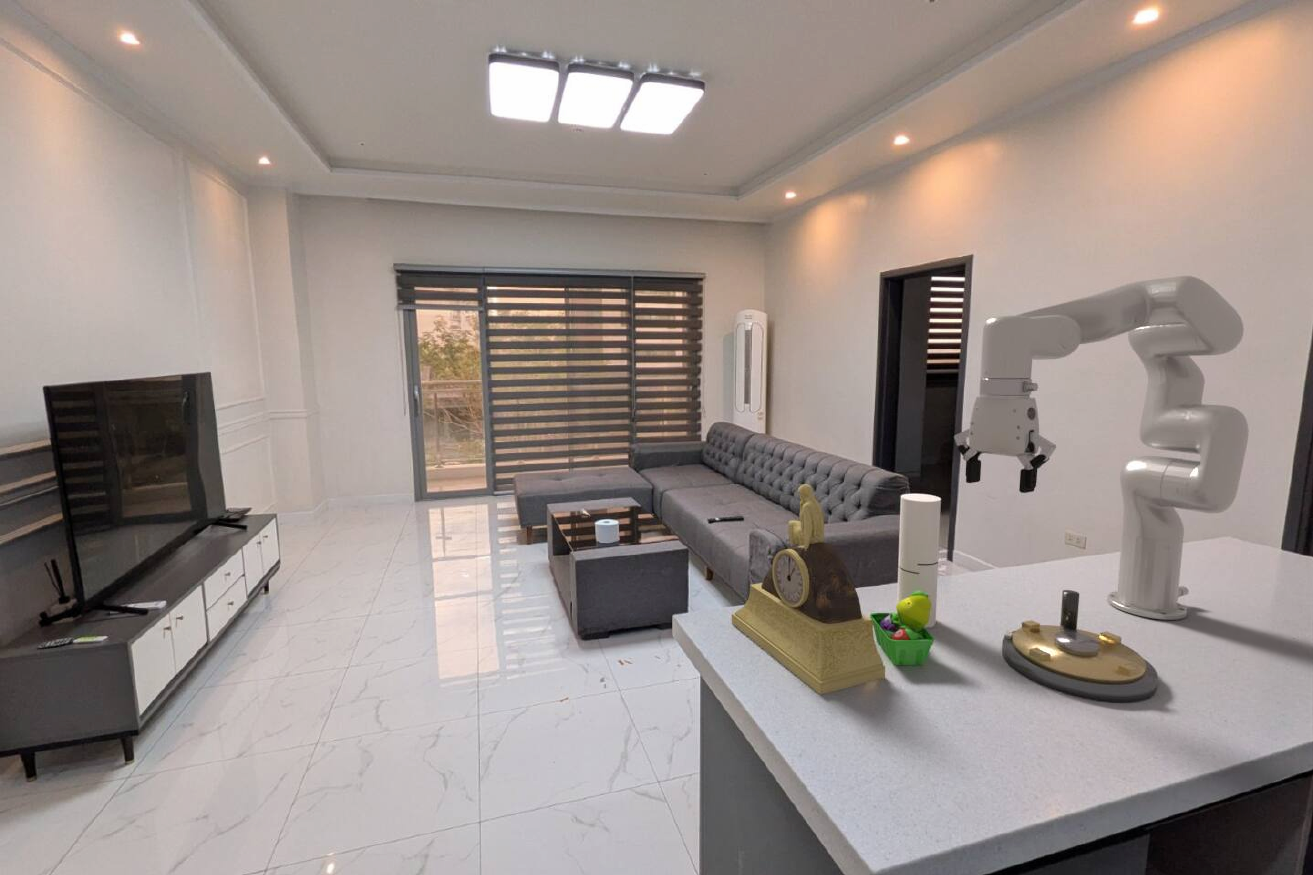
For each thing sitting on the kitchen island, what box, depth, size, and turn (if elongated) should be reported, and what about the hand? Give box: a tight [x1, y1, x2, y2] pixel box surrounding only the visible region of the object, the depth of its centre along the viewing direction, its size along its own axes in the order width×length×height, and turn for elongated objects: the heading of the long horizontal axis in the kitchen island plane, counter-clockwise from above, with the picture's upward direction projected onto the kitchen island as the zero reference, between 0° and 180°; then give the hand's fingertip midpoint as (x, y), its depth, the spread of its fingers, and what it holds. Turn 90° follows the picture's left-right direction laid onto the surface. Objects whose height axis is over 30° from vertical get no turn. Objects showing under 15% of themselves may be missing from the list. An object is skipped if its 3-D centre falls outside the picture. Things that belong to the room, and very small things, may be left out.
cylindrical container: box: [896, 493, 942, 629], centre depth 116 cm, size 7×7×25 cm
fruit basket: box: [869, 591, 935, 666], centre depth 103 cm, size 11×9×11 cm
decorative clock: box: [731, 483, 886, 696], centre depth 105 cm, size 28×13×30 cm, turn 22°
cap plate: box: [1001, 630, 1159, 704], centre depth 98 cm, size 21×21×3 cm
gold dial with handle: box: [1013, 589, 1146, 684], centre depth 97 cm, size 18×18×8 cm
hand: (998, 486), depth 103 cm, fingers open, 9 cm apart
